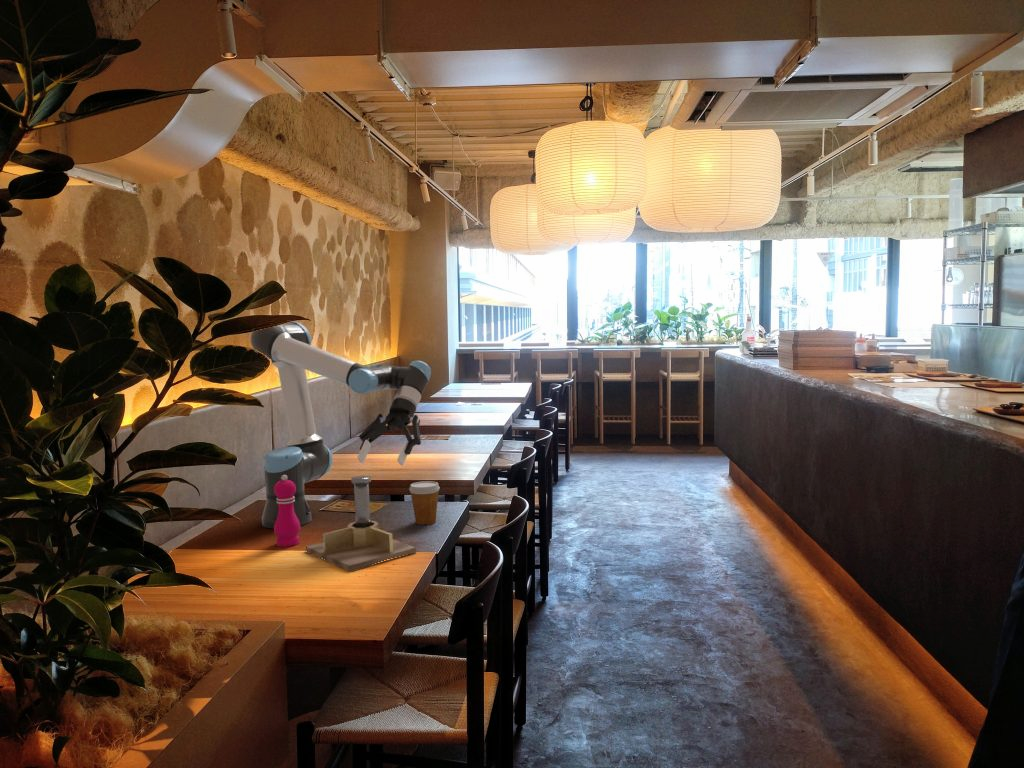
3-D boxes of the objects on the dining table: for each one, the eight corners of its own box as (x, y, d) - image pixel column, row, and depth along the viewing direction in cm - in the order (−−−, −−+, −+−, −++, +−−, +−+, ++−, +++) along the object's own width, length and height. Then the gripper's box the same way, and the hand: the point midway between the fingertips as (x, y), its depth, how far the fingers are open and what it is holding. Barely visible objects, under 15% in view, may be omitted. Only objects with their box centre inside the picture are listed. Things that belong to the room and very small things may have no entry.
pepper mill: (296, 547, 201) (292, 477, 200) (271, 547, 202) (267, 477, 200) (304, 539, 209) (300, 471, 207) (279, 540, 209) (276, 472, 207)
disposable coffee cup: (413, 518, 228) (411, 481, 227) (443, 517, 228) (441, 480, 227) (407, 526, 219) (406, 488, 218) (438, 526, 219) (437, 487, 218)
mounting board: (305, 551, 197) (305, 546, 197) (368, 535, 210) (368, 530, 210) (350, 571, 179) (349, 565, 179) (415, 552, 193) (415, 547, 193)
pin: (350, 542, 199) (347, 478, 198) (367, 538, 203) (364, 474, 201) (360, 546, 195) (357, 480, 194) (377, 541, 199) (374, 477, 197)
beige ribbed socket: (317, 549, 194) (316, 531, 193) (368, 536, 205) (368, 519, 204) (351, 563, 181) (350, 544, 180) (404, 549, 191) (403, 531, 191)
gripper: (445, 412, 217) (422, 471, 205) (376, 410, 227) (349, 466, 215) (436, 397, 212) (412, 456, 199) (365, 395, 222) (338, 452, 209)
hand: (379, 461), depth 207 cm, fingers open, 13 cm apart
